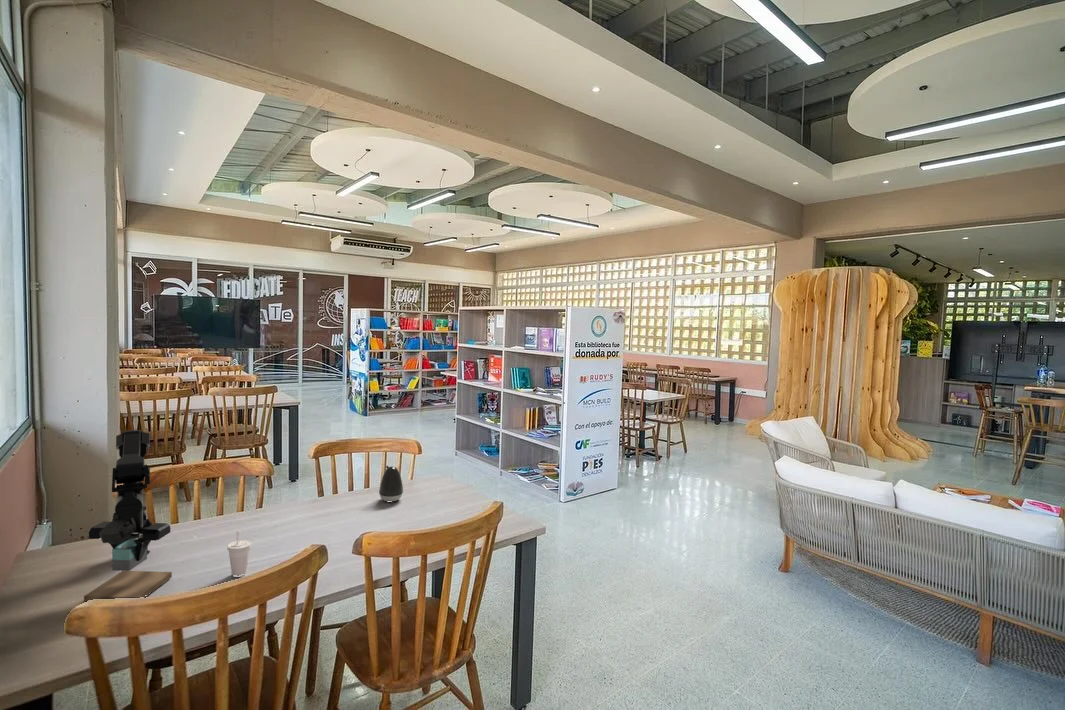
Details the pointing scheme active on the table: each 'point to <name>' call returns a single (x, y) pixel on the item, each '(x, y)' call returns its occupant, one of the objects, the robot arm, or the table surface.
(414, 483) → the table surface
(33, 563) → the table surface
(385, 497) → the black egg-shaped speaker
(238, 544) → the smoothie
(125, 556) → the housing
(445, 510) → the table surface
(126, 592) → the stand
